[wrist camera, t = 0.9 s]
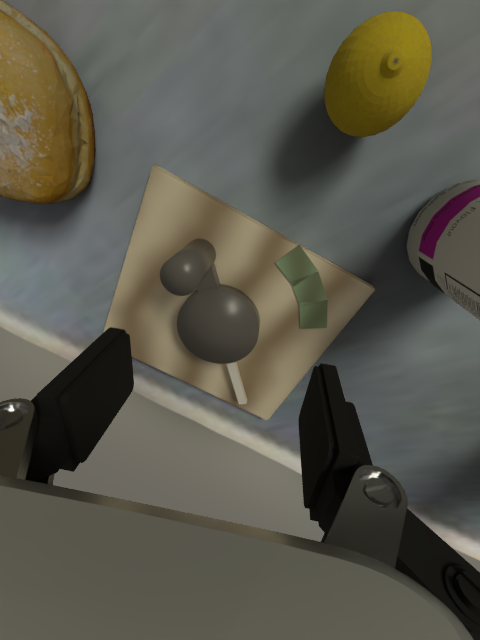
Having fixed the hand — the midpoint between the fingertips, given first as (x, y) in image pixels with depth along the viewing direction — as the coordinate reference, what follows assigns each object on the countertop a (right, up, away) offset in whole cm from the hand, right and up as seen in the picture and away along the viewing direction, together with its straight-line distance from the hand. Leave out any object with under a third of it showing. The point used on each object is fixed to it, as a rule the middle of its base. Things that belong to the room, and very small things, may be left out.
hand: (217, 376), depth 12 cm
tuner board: (-1, +3, +19) cm, 19 cm away
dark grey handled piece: (-1, +1, +18) cm, 18 cm away
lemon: (+9, +19, +9) cm, 23 cm away
